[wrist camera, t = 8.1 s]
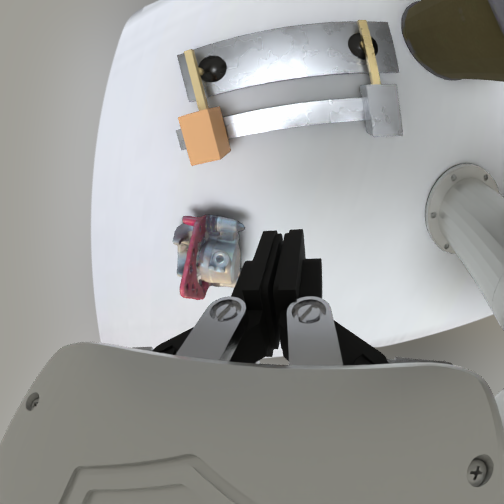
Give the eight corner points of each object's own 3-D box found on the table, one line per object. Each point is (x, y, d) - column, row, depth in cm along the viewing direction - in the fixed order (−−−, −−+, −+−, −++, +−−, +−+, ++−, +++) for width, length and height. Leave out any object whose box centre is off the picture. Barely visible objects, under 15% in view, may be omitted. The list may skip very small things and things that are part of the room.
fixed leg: (372, 24, 18) (380, 16, 15) (391, 130, 24) (402, 135, 21) (344, 24, 19) (349, 16, 16) (365, 131, 25) (373, 136, 22)
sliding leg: (207, 48, 22) (190, 41, 18) (232, 148, 28) (220, 159, 24) (182, 56, 23) (161, 52, 19) (207, 154, 29) (191, 165, 25)
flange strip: (385, 24, 18) (387, 22, 17) (396, 72, 21) (399, 72, 20) (180, 56, 24) (176, 55, 23) (192, 101, 27) (188, 102, 26)
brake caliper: (154, 206, 33) (176, 255, 24) (233, 191, 37) (281, 230, 28) (165, 277, 39) (190, 336, 30) (233, 259, 44) (272, 308, 35)
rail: (392, 96, 23) (397, 96, 21) (394, 117, 24) (400, 119, 23) (182, 128, 29) (175, 130, 28) (188, 146, 30) (181, 150, 29)
